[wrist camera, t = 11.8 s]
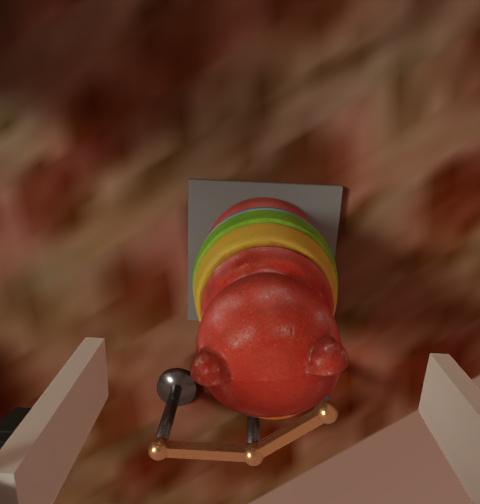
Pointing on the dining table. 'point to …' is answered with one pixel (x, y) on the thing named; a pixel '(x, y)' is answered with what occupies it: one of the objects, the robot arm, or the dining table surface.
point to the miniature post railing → (182, 392)
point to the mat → (231, 192)
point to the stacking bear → (266, 311)
